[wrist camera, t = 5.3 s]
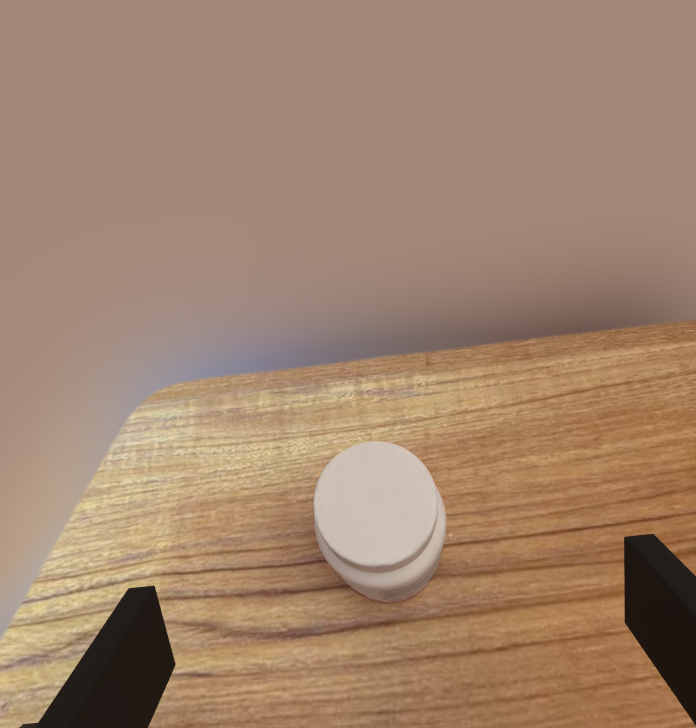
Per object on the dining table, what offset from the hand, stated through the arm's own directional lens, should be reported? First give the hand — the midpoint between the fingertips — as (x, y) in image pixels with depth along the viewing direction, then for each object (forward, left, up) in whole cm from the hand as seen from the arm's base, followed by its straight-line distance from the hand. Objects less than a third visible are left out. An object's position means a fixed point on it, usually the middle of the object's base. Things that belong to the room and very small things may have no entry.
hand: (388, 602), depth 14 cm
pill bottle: (-1, +3, -9) cm, 9 cm away
